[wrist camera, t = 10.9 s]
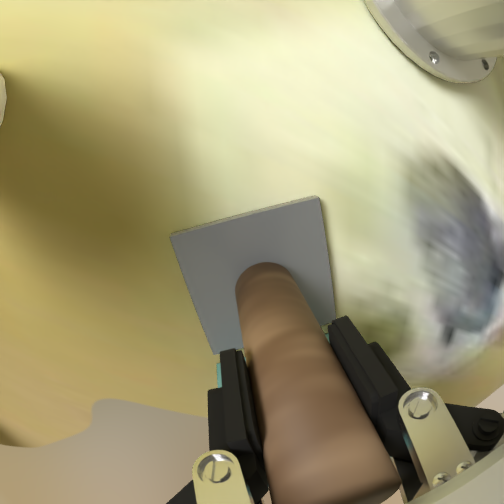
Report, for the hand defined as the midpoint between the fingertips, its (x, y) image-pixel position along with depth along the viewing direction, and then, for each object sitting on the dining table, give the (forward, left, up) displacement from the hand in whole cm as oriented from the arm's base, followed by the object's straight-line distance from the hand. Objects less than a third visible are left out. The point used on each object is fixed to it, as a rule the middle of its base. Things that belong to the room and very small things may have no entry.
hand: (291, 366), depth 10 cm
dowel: (0, 0, -6) cm, 6 cm away
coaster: (0, 0, -8) cm, 8 cm away
